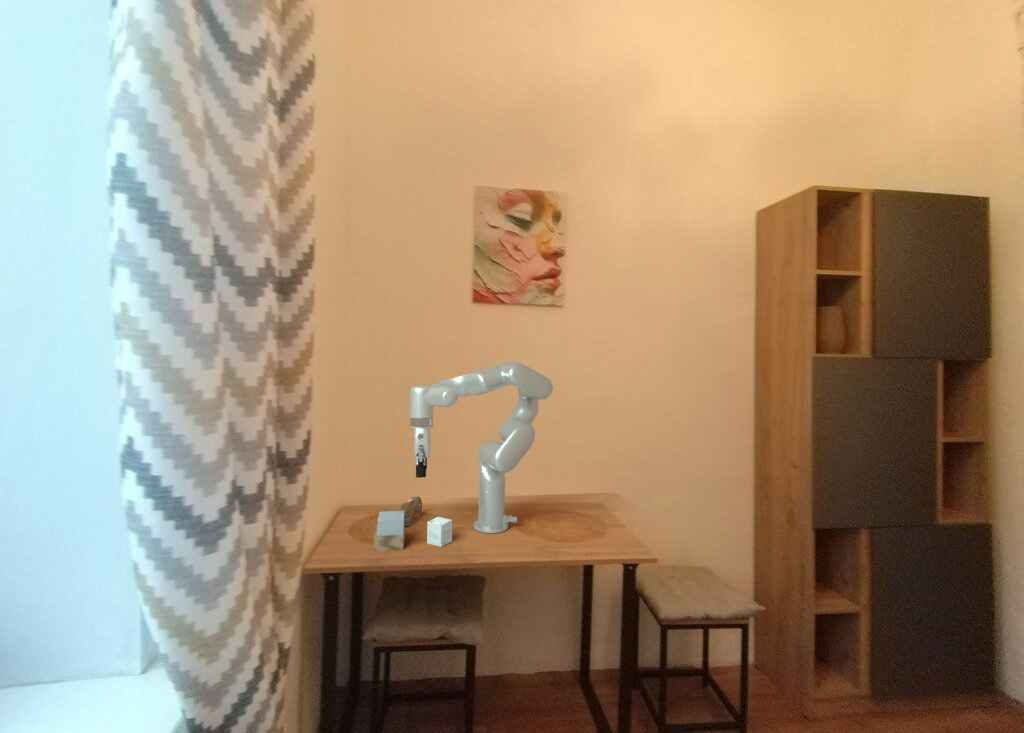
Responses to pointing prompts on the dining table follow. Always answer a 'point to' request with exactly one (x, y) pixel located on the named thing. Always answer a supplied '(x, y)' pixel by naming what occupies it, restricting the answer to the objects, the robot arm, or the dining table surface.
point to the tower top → (390, 523)
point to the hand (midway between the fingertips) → (421, 473)
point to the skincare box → (439, 531)
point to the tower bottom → (389, 542)
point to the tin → (411, 510)
